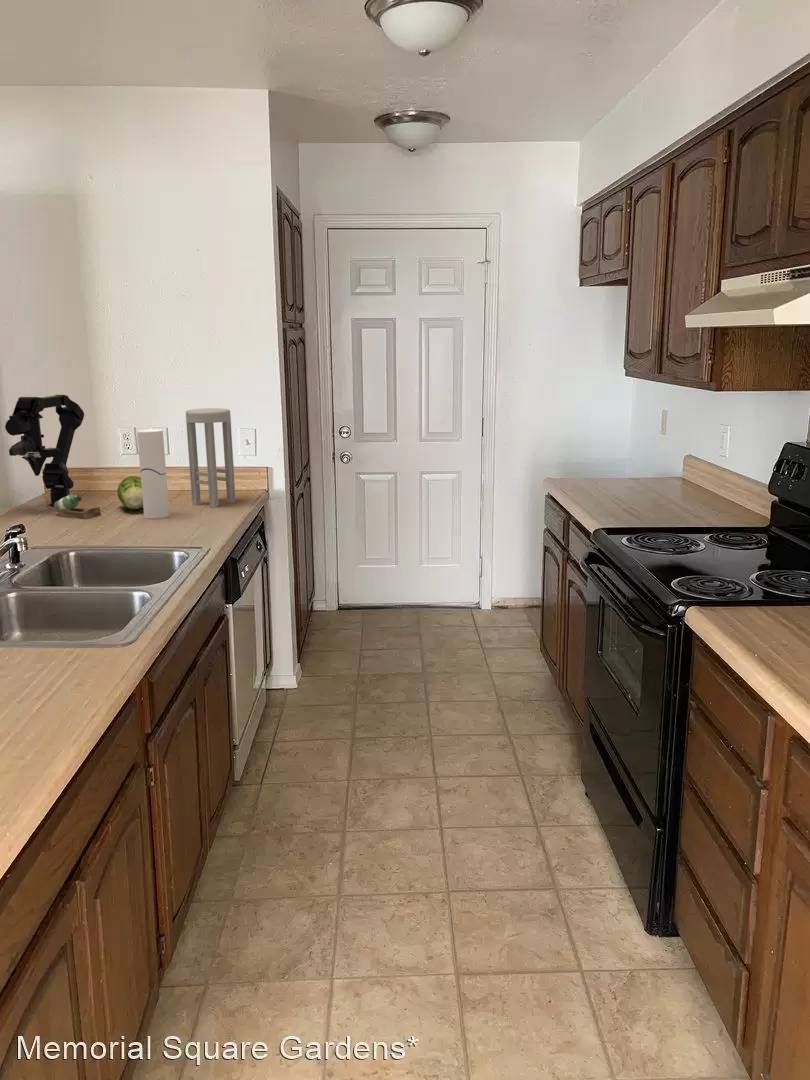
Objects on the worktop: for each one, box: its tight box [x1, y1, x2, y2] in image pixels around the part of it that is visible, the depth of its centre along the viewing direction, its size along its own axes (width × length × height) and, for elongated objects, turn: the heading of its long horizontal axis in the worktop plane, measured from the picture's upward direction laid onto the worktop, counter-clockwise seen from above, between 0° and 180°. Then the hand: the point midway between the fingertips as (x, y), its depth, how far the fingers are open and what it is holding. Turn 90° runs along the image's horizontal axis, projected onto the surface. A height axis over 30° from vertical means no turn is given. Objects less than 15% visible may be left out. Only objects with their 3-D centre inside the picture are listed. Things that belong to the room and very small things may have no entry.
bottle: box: [53, 493, 82, 514], centre depth 296 cm, size 5×5×10 cm
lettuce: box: [116, 475, 143, 510], centre depth 305 cm, size 12×21×11 cm, turn 20°
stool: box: [185, 407, 236, 508], centre depth 311 cm, size 16×16×35 cm
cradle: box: [57, 506, 102, 520], centre depth 295 cm, size 7×12×3 cm, turn 68°
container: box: [136, 428, 170, 520], centre depth 291 cm, size 9×9×30 cm
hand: (37, 475), depth 302 cm, fingers closed
